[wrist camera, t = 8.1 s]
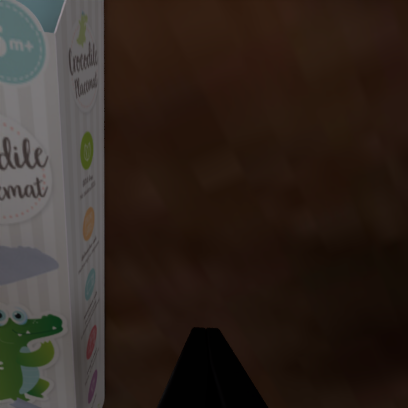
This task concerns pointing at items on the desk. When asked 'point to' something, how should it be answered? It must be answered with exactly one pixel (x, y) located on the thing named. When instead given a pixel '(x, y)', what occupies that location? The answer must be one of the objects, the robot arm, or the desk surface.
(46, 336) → the box
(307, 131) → the desk surface
